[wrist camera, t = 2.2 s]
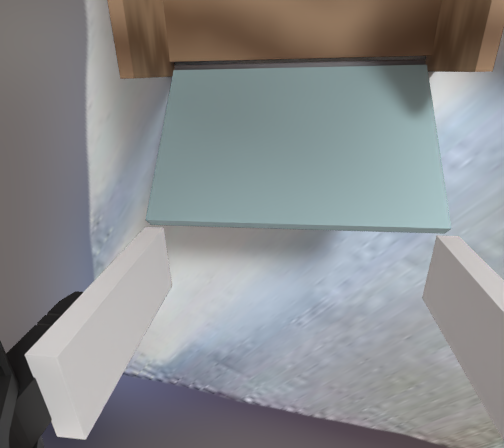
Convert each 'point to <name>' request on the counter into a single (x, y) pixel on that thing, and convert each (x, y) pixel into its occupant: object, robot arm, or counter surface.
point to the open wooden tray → (304, 32)
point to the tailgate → (301, 148)
